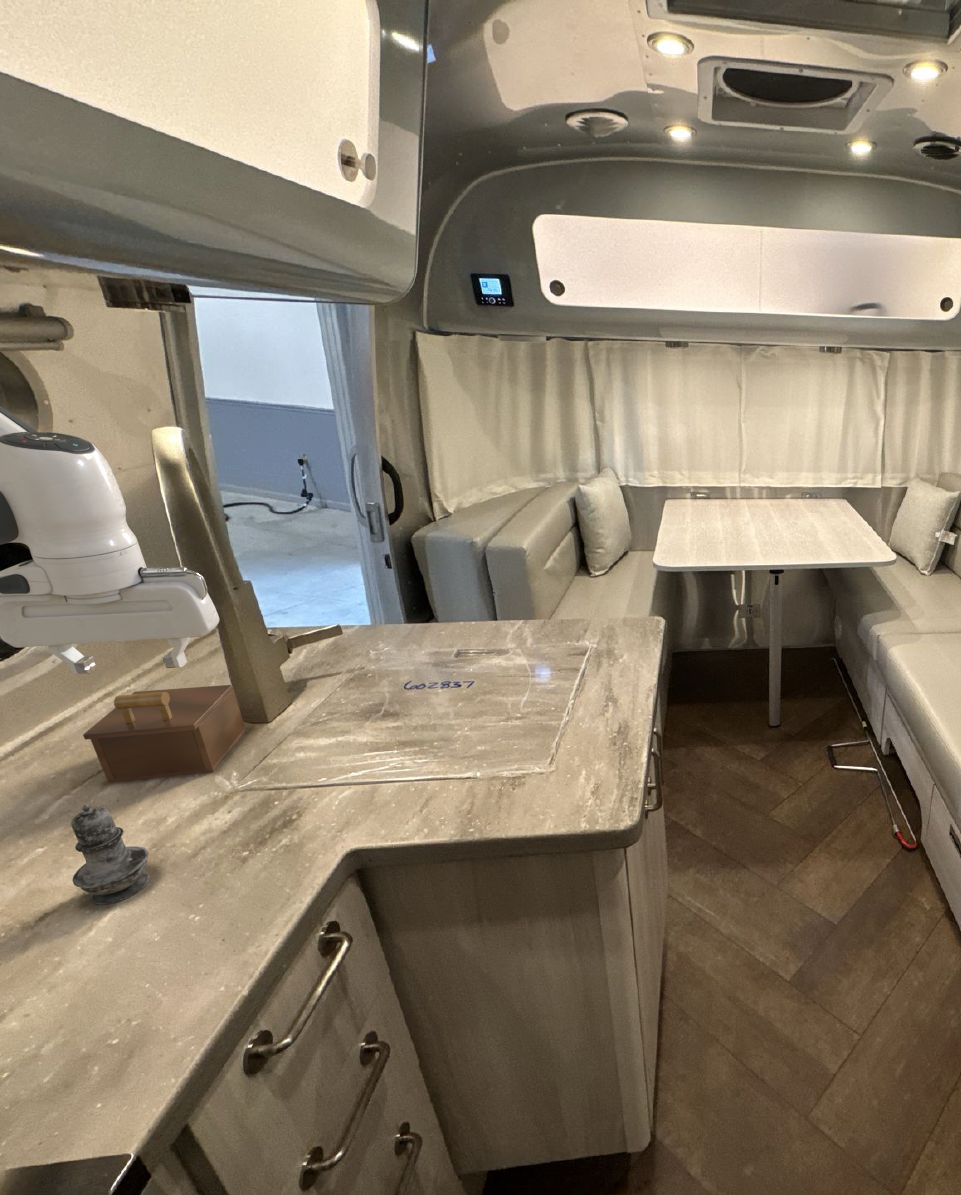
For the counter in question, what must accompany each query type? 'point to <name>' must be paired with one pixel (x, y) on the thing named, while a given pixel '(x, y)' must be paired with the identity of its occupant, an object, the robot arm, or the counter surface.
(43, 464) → the robot arm
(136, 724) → the lid
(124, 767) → the bread box
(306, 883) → the counter surface
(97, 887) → the grey tiered ornament
